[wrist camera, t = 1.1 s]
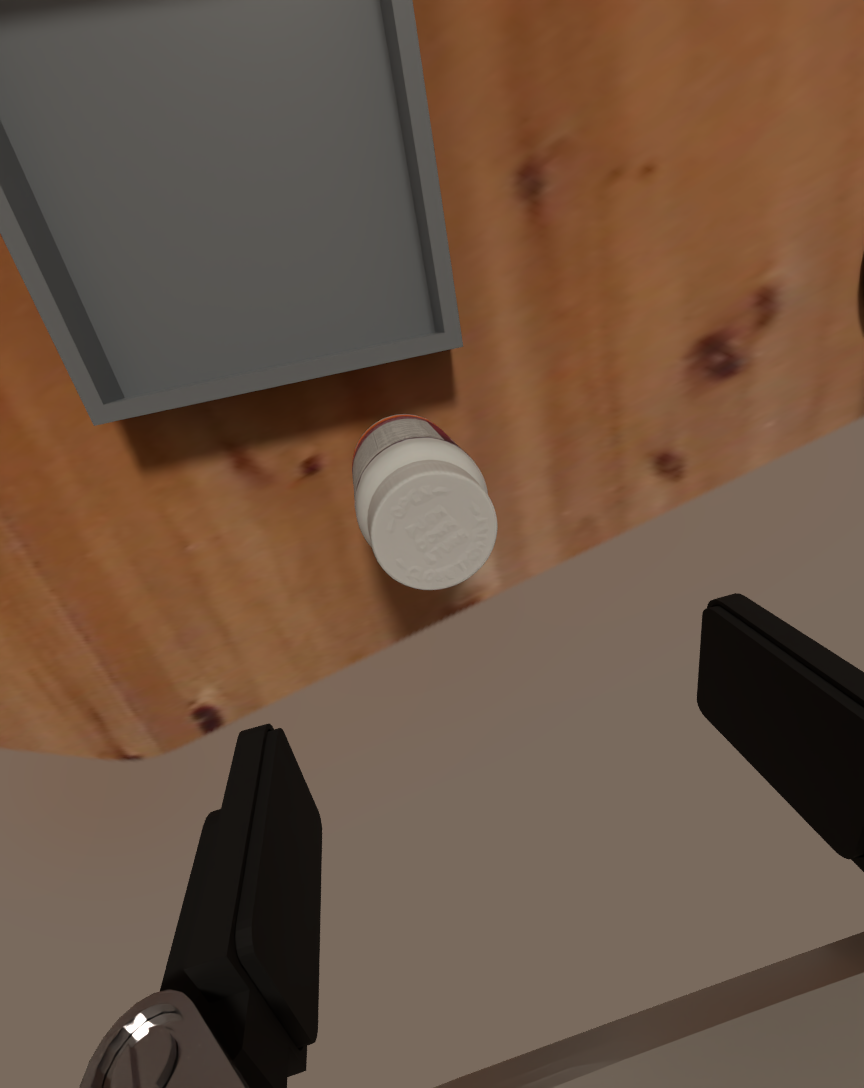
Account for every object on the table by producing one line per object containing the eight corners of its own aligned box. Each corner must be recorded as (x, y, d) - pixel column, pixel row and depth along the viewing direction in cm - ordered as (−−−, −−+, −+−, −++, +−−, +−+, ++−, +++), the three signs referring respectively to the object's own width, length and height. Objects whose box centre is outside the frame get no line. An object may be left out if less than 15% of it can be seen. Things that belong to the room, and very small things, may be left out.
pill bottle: (461, 496, 31) (523, 578, 21) (368, 523, 30) (383, 621, 20) (439, 398, 28) (497, 438, 18) (337, 427, 28) (336, 484, 18)
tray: (374, -135, 19) (380, -214, 16) (450, 344, 27) (463, 346, 24) (-104, -74, 18) (-186, -150, 15) (120, 415, 25) (93, 425, 23)
